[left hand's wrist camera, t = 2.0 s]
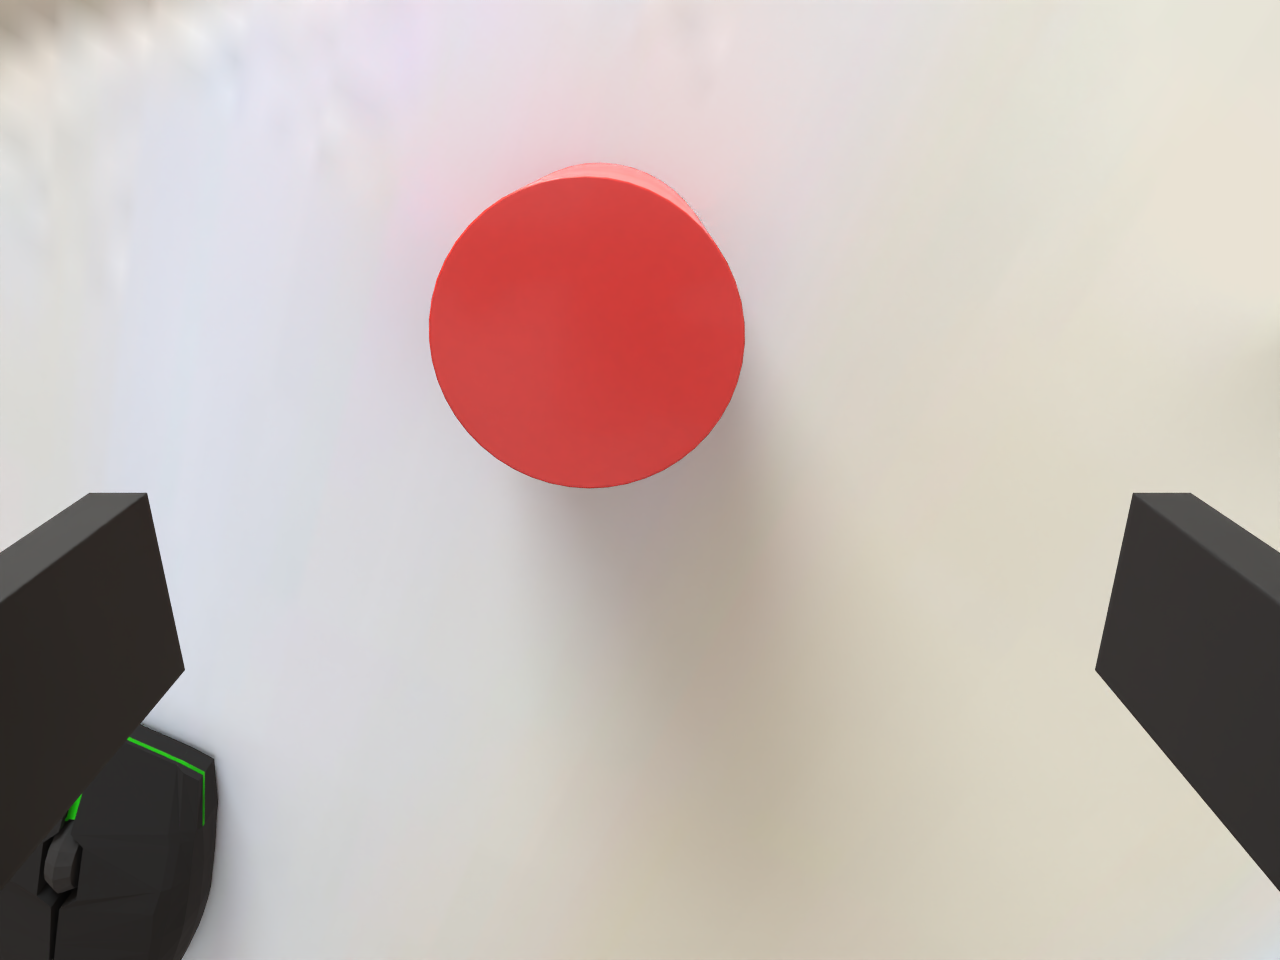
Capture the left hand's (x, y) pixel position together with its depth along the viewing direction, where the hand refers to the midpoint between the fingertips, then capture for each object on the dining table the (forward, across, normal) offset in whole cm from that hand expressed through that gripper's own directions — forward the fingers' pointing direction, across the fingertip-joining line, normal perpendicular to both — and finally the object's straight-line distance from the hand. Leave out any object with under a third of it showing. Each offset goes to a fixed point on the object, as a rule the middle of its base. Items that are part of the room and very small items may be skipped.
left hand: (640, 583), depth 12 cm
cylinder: (+22, +1, 0) cm, 22 cm away
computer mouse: (+22, +26, +26) cm, 42 cm away
